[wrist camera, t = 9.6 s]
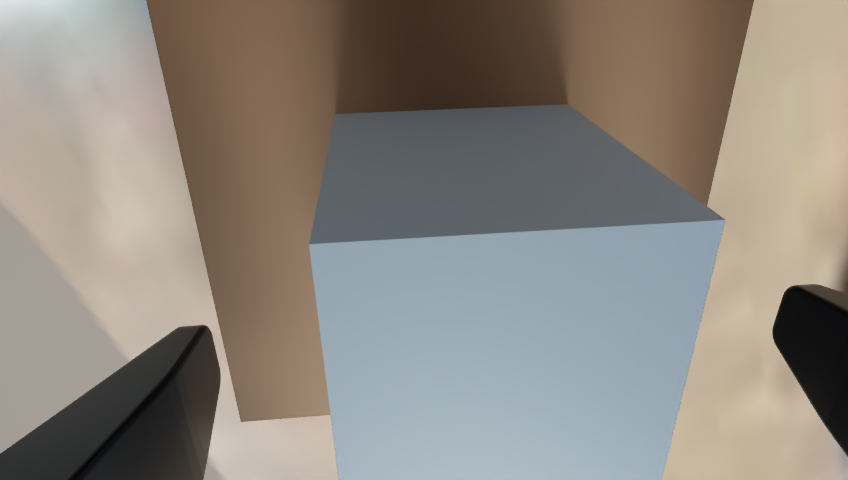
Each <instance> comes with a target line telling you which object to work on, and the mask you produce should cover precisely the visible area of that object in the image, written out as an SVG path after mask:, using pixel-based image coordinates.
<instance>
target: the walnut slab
mask: <svg viewBox="0 0 848 480" xmlns="http://www.w3.org/2000/svg"><path fill="white" fill-rule="evenodd" d="M146 1H147V5H148V10H149V14H150V19H151V23H152V28H153V32H154V37H155V41H156V45H157V50H158V54H159V59H160V63H161V68H162V72H163V77H164V81H165V86H166V90H167V94H168V99H169V103H170V108H171V112H172V117H173V121H174V126H175V130H176V134H177V139H178V143H179V148H180V152H181V157H182V161H183V166H184V170H185V175H186V179H187V183H188V188H189V192H190V197H191V201H192V206H193V210H194V215H195V219H196V223H197V228H198V232H199V237H200V241H201V246H202V250H203V255H204V259H205V263H206V268H207V272H208V277H209V281H210V286H211V290H212V295H213V299H214V304H215V308H216V312H217V317H218V321H219V326H220V330H221V335H222V339H223V344H224V348H225V352H226V357H227V361H228V366H229V370H230V375H231V379H232V384H233V388H234V393H235V397H236V401H237V406H238V410H239V415H240V419H241V422H245V421H257V420H270V419H283V418H295V417H308V416H321V415H330V407H329V399H328V391H327V383H326V375H325V367H324V359H323V352H322V344H321V336H320V328H319V320H318V312H317V304H316V296H315V288H314V280H313V272H312V265H311V257H310V249H309V241H310V236H311V231H312V226H313V221H314V217H315V212H316V207H317V202H318V197H319V192H320V187H321V182H322V177H323V172H324V167H325V162H326V157H327V152H328V147H329V142H330V137H331V132H332V127H333V122H334V117H335V114H348V113H372V112H395V111H419V110H443V109H466V108H490V107H514V106H538V105H562V104H568V105H570V106H571V107H572V108H574V109H575V110H576V111H578V112H579V113H581V114H582V115H583V116H585V117H586V118H587V119H589V120H590V121H591V122H593V123H594V124H596V125H597V126H598V127H600V128H601V129H602V130H604V131H605V132H606V133H608V134H609V135H610V136H612V137H613V138H615V139H616V140H617V141H619V142H620V143H621V144H623V145H624V146H625V147H627V148H628V149H630V150H631V151H632V152H634V153H635V154H636V155H638V156H639V157H640V158H642V159H643V160H644V161H646V162H647V163H649V164H650V165H651V166H653V167H654V168H655V169H657V170H658V171H659V172H661V173H662V174H664V175H665V176H666V177H668V178H669V179H670V180H672V181H673V182H674V183H676V184H677V185H679V186H680V187H681V188H683V189H684V190H685V191H687V192H688V193H689V194H691V195H692V196H693V197H695V198H696V199H698V200H699V201H700V202H702V203H703V204H704V205H706V206H707V203H708V199H709V194H710V190H711V186H712V181H713V177H714V172H715V168H716V164H717V159H718V155H719V151H720V146H721V142H722V137H723V133H724V129H725V124H726V120H727V116H728V111H729V107H730V102H731V98H732V94H733V89H734V85H735V81H736V76H737V72H738V67H739V63H740V59H741V54H742V50H743V46H744V41H745V37H746V32H747V28H748V24H749V19H750V15H751V11H752V6H753V2H754V0H146Z"/></svg>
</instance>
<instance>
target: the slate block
mask: <svg viewBox="0 0 848 480" xmlns="http://www.w3.org/2000/svg"><path fill="white" fill-rule="evenodd" d="M724 223H725V219H723V218H722V217H721V216H719V215H718V214H717V213H715V212H714V211H713V210H711V209H710V208H708V207H707V206H706V205H704V204H703V203H702V202H700V201H699V200H698V199H696V198H695V197H693V196H692V195H691V194H689V193H688V192H687V191H685V190H684V189H683V188H681V187H680V186H679V185H677V184H676V183H674V182H673V181H672V180H670V179H669V178H668V177H666V176H665V175H664V174H662V173H661V172H659V171H658V170H657V169H655V168H654V167H653V166H651V165H650V164H649V163H647V162H646V161H644V160H643V159H642V158H640V157H639V156H638V155H636V154H635V153H634V152H632V151H631V150H630V149H628V148H627V147H625V146H624V145H623V144H621V143H620V142H619V141H617V140H616V139H615V138H613V137H612V136H610V135H609V134H608V133H606V132H605V131H604V130H602V129H601V128H600V127H598V126H597V125H596V124H594V123H593V122H591V121H590V120H589V119H587V118H586V117H585V116H583V115H582V114H581V113H579V112H578V111H576V110H575V109H574V108H572V107H571V106H570V105H568V104H562V105H538V106H514V107H490V108H466V109H443V110H419V111H395V112H372V113H348V114H335V117H334V122H333V127H332V132H331V137H330V142H329V147H328V152H327V157H326V162H325V167H324V172H323V177H322V182H321V187H320V192H319V197H318V202H317V207H316V212H315V217H314V221H313V226H312V231H311V236H310V241H309V249H310V257H311V265H312V272H313V280H314V288H315V296H316V304H317V312H318V320H319V328H320V336H321V344H322V352H323V359H324V367H325V375H326V383H327V391H328V399H329V407H330V415H331V423H332V431H333V439H334V446H335V454H336V462H337V470H338V478H339V480H662V476H663V472H664V468H665V464H666V460H667V456H668V452H669V448H670V444H671V439H672V435H673V431H674V427H675V423H676V419H677V415H678V411H679V407H680V403H681V399H682V395H683V390H684V386H685V382H686V378H687V374H688V370H689V366H690V362H691V358H692V354H693V350H694V346H695V341H696V337H697V333H698V329H699V325H700V321H701V317H702V313H703V309H704V305H705V301H706V297H707V293H708V288H709V284H710V280H711V276H712V272H713V268H714V264H715V260H716V256H717V252H718V248H719V244H720V239H721V235H722V231H723V227H724Z"/></svg>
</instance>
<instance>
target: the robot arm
mask: <svg viewBox="0 0 848 480" xmlns="http://www.w3.org/2000/svg"><path fill="white" fill-rule="evenodd" d="M773 339H774V342H775V344H776V346H777V348H778V349H779V351H780V353H781V354H782V356H783V358H784V359H785V361H786V363H787V364H788V366H789V368H790V369H791V371H792V372H793V374H794V376H795V377H796V379H797V381H798V382H799V384H800V386H801V387H802V389H803V391H804V392H805V394H806V396H807V397H808V399H809V401H810V402H811V404H812V405H813V407H814V409H815V410H816V412H817V414H818V415H819V417H820V418H821V420H822V421H823V423H824V425H825V426H826V427H827V429H828V430H829V432H830V433H831V434H832V436H833V437H834V439H835V440H836V441H837V443H838V444H839V445H840V447H841V448H842V449H843V451H844V452H845V454H846V455H847V456H848V294H846V293H843V292H840V291H836V290H833V289H830V288H827V287H824V286H821V285H816V284H809V285H796V286H791V287H789V288H788V289H787V290H786V291H785V292H784V295H783V297H782V301H781V304H780V307H779V310H778V313H777V316H776V319H775V322H774V325H773ZM220 379H221V378H220V367H219V363H218V359H217V354H216V350H215V346H214V342H213V337H212V333H211V331H210V329H209V328H208V327H207V326H205V325H199V326H183V327H179V328H177V329H175V330H174V331H172V332H171V333H170V334H168V335H167V336H165V337H164V338H162V339H161V340H160V341H158V342H157V343H155V344H154V345H153V346H151V347H150V348H148V349H147V350H146V351H144V352H143V353H141V354H140V355H139V356H137V357H136V358H134V359H133V360H132V361H130V362H129V363H127V364H126V365H125V366H123V367H122V368H120V369H119V370H118V371H116V372H115V373H113V374H112V375H111V376H109V377H108V378H106V379H105V380H103V381H102V382H101V383H99V384H98V385H96V386H95V387H94V388H92V389H91V390H89V391H88V392H87V393H85V394H84V395H83V396H81V397H80V398H78V399H77V400H75V401H74V402H73V403H71V404H70V405H69V406H67V407H65V408H64V409H63V410H61V411H60V412H58V413H57V414H56V415H54V416H53V417H51V418H50V419H49V420H47V421H46V422H44V423H43V424H42V425H40V426H39V427H37V428H36V429H35V430H33V431H32V432H30V433H29V434H27V435H26V436H25V437H23V438H22V439H20V440H19V441H18V442H16V443H15V444H14V445H12V446H11V447H9V448H8V449H7V450H5V451H3V452H2V453H1V454H0V480H203V478H204V474H205V468H206V463H207V458H208V452H209V446H210V440H211V435H212V429H213V423H214V417H215V412H216V406H217V400H218V394H219V388H220Z"/></svg>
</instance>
